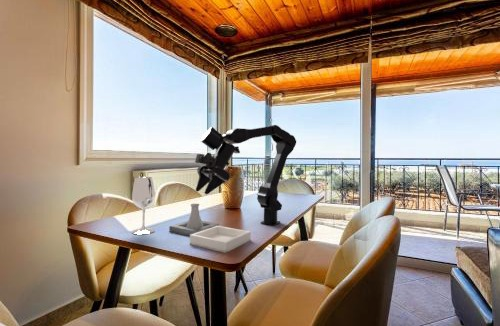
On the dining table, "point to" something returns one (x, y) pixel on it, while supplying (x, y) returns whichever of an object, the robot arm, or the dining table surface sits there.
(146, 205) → the wineglass
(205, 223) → the holder
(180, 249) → the dining table surface
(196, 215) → the flask
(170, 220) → the dining table surface
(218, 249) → the tray
